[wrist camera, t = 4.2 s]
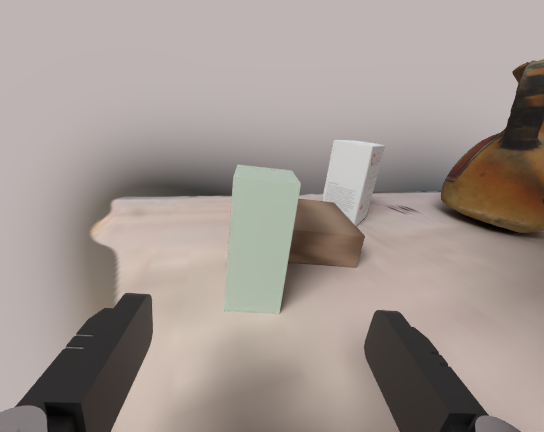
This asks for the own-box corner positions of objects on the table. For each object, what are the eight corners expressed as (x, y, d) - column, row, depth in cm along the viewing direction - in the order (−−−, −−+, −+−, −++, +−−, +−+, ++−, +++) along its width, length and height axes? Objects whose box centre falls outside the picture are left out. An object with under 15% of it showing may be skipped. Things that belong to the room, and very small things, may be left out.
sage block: (275, 281, 25) (291, 170, 22) (279, 313, 21) (300, 183, 17) (229, 278, 25) (237, 164, 21) (224, 310, 21) (233, 176, 17)
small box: (334, 207, 51) (349, 139, 46) (367, 217, 48) (386, 145, 43) (317, 217, 44) (332, 139, 40) (353, 229, 41) (374, 145, 37)
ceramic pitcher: (549, 229, 55) (635, 71, 45) (556, 256, 41) (685, 34, 30) (445, 202, 67) (494, 73, 57) (423, 215, 53) (482, 47, 43)
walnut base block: (328, 226, 41) (334, 202, 40) (356, 267, 30) (364, 236, 29) (253, 219, 40) (255, 194, 38) (252, 259, 29) (256, 226, 27)
